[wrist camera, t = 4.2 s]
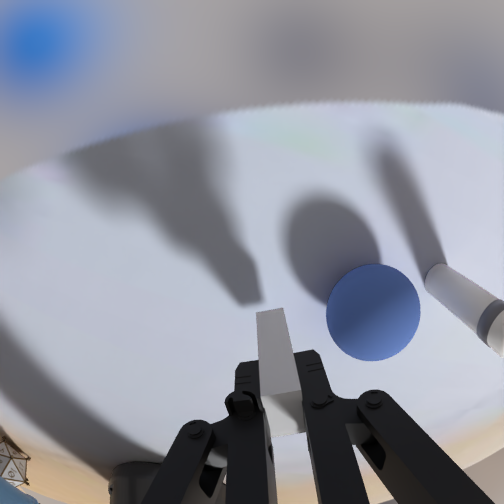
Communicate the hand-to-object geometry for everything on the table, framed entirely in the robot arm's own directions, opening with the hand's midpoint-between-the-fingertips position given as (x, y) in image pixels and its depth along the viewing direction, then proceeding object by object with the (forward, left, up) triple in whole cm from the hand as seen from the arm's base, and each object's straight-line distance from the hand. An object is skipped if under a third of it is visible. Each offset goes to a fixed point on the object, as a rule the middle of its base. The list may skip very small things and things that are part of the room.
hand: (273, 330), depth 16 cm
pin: (+12, -2, -2) cm, 12 cm away
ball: (+6, -1, +1) cm, 6 cm away
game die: (-44, -13, -2) cm, 46 cm away
